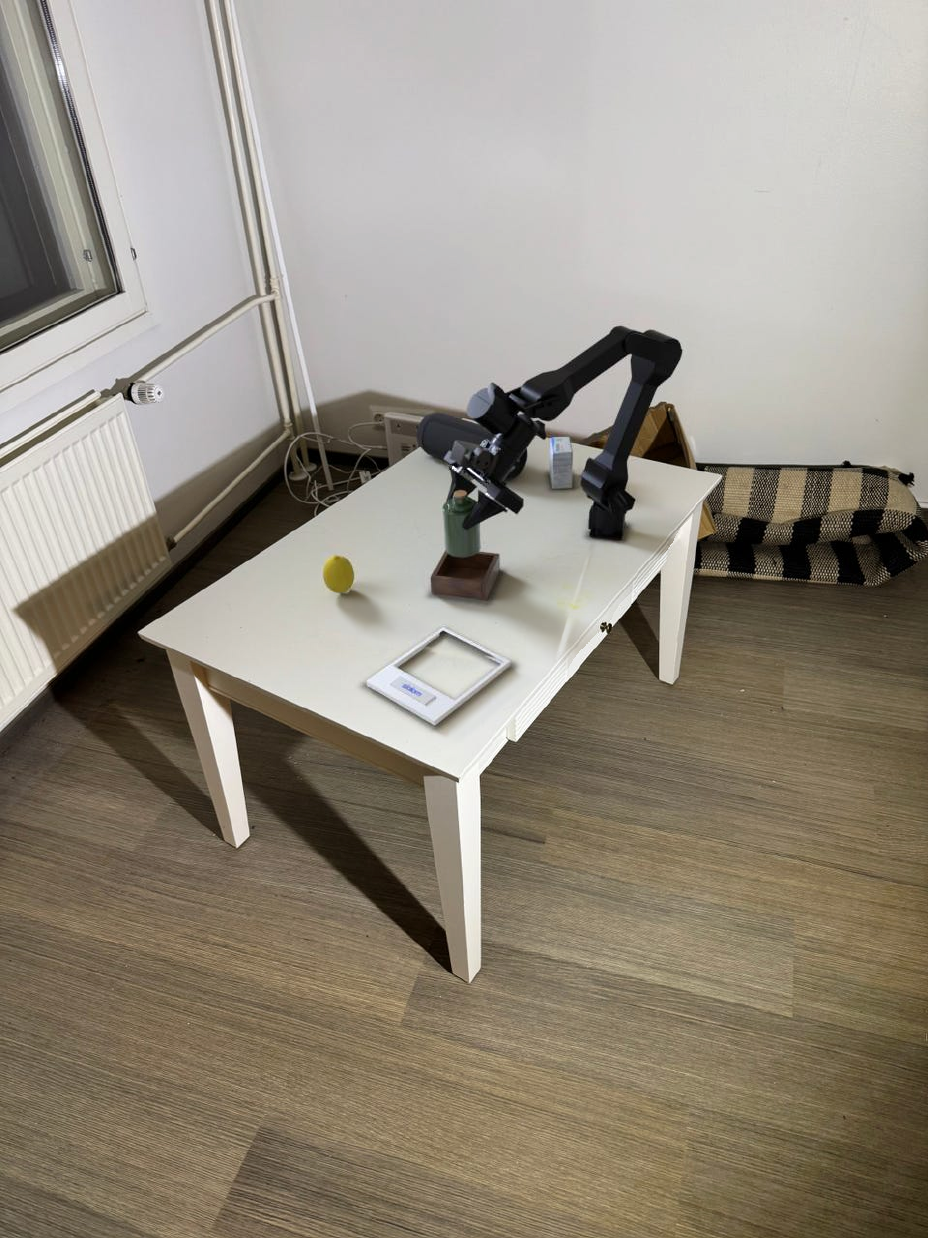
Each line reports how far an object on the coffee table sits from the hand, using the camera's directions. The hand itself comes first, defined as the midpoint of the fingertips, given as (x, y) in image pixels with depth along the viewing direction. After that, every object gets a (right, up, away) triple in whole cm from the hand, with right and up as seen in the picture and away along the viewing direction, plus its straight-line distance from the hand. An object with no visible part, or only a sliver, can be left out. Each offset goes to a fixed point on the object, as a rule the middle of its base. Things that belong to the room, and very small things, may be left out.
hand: (454, 520), depth 153 cm
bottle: (+1, -4, +4) cm, 6 cm away
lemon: (-21, -13, +7) cm, 25 cm away
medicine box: (+23, +13, +39) cm, 47 cm away
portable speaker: (+3, +17, +46) cm, 49 cm away
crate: (+2, -11, +8) cm, 13 cm away
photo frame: (-2, -26, -13) cm, 30 cm away
